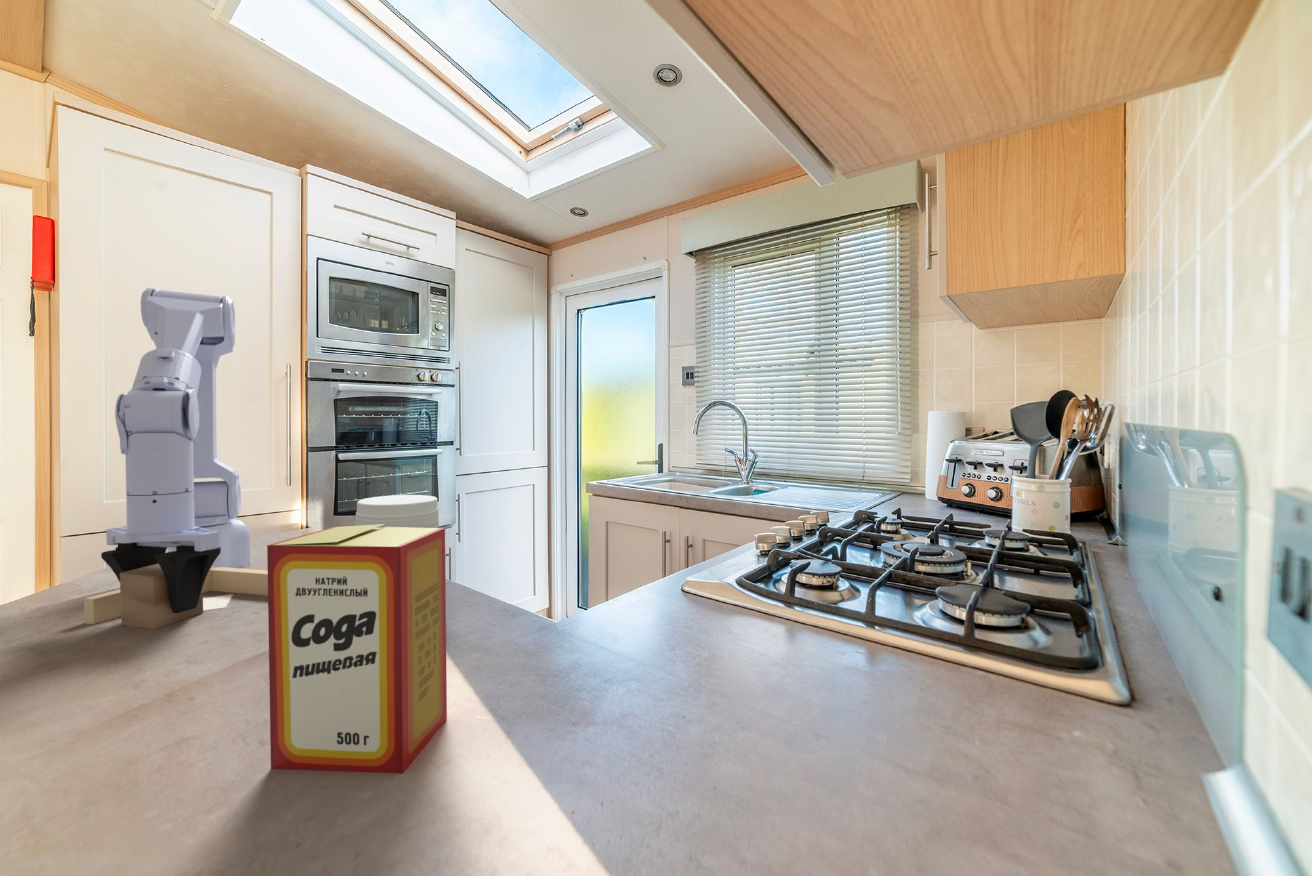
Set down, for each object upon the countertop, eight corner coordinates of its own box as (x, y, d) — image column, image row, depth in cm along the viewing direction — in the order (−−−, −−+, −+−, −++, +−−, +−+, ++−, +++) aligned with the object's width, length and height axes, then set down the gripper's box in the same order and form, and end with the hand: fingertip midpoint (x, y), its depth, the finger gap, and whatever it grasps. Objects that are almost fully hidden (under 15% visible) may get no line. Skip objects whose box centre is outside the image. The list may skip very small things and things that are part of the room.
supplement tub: (337, 621, 63) (335, 502, 63) (399, 597, 72) (398, 492, 72) (397, 631, 60) (396, 506, 60) (455, 605, 69) (454, 495, 68)
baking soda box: (446, 719, 42) (444, 523, 41) (403, 773, 35) (400, 541, 35) (334, 716, 42) (331, 522, 42) (270, 768, 36) (267, 540, 35)
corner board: (213, 595, 73) (213, 566, 73) (324, 605, 69) (324, 574, 68) (84, 634, 59) (83, 598, 59) (212, 650, 55) (212, 611, 55)
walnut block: (171, 608, 63) (170, 560, 63) (203, 612, 62) (201, 564, 62) (121, 624, 59) (119, 573, 58) (154, 629, 57) (152, 577, 57)
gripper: (71, 495, 58) (74, 615, 58) (168, 499, 55) (171, 625, 55) (145, 488, 65) (148, 595, 65) (236, 491, 61) (238, 603, 62)
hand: (163, 608), depth 60 cm, fingers open, 6 cm apart
